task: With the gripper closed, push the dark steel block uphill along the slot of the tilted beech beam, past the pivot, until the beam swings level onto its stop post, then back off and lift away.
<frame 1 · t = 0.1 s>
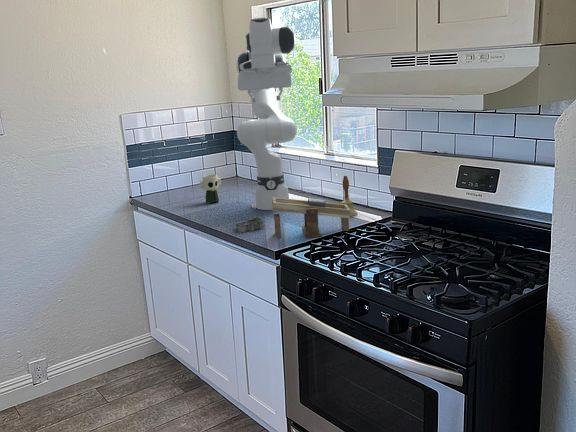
hand: (266, 101, 220), 48 cm above the countertop, tool pointing down, fingers open, 8 cm apart
spiky head figurine: (212, 203, 278), on the countertop
egg carton: (250, 229, 229), on the countertop
beam: (310, 207, 215), point 9 cm above the countertop, hinge at -10.4°, touching steel block
beam stand: (311, 232, 217), on the countertop
steel block: (315, 209, 215), point 9 cm above the countertop, tilted 10°, touching beam
hand bell: (347, 214, 240), on the countertop
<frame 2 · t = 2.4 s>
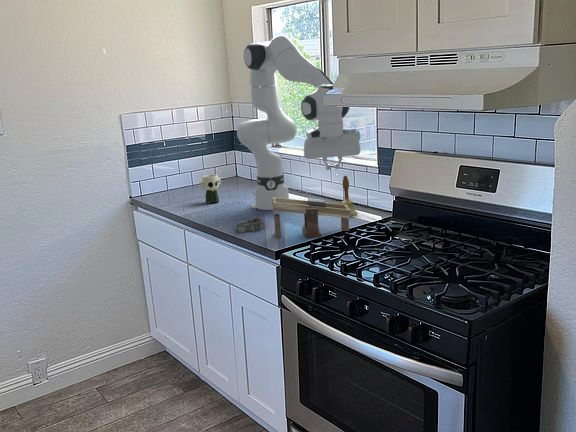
hand: (332, 169, 212), 23 cm above the countertop, tool pointing down, fingers closed
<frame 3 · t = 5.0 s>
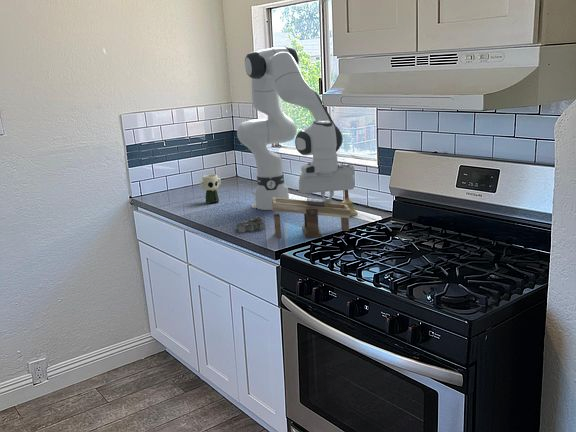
hand: (327, 203, 215), 11 cm above the countertop, tool pointing down, fingers closed
steel block: (314, 209, 215), point 9 cm above the countertop, tilted 10°, touching beam, gripper
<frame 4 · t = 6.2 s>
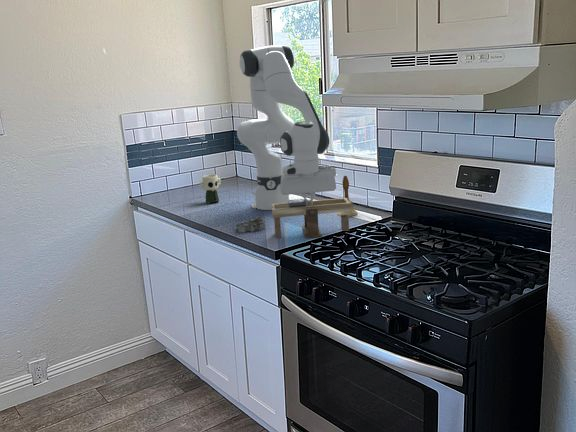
hand: (309, 204, 214), 11 cm above the countertop, tool pointing down, fingers closed
beam: (310, 207, 215), point 9 cm above the countertop, hinge at 0.5°, touching steel block
steel block: (297, 210, 214), point 9 cm above the countertop, touching beam, gripper
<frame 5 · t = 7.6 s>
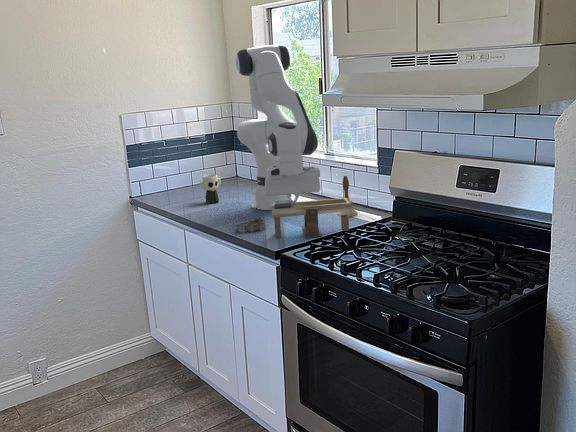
hand: (293, 205, 214), 11 cm above the countertop, tool pointing down, fingers closed
steel block: (283, 211, 214), point 9 cm above the countertop, touching beam, gripper
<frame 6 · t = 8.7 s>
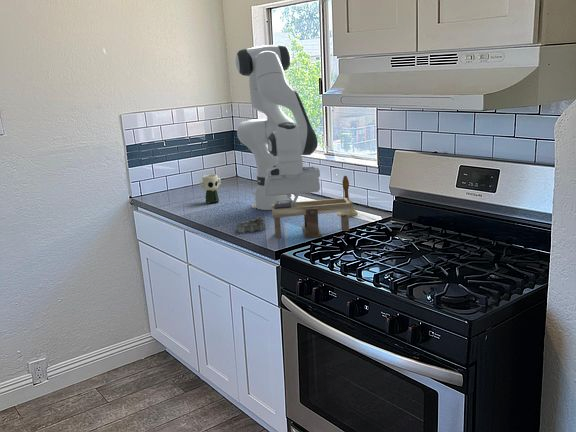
hand: (293, 205, 214), 11 cm above the countertop, tool pointing down, fingers closed
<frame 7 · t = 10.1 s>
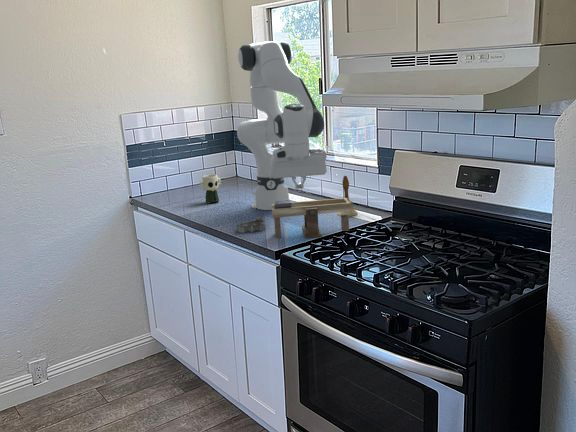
hand: (299, 188, 213), 17 cm above the countertop, tool pointing down, fingers closed
steel block: (283, 211, 214), point 9 cm above the countertop, touching beam
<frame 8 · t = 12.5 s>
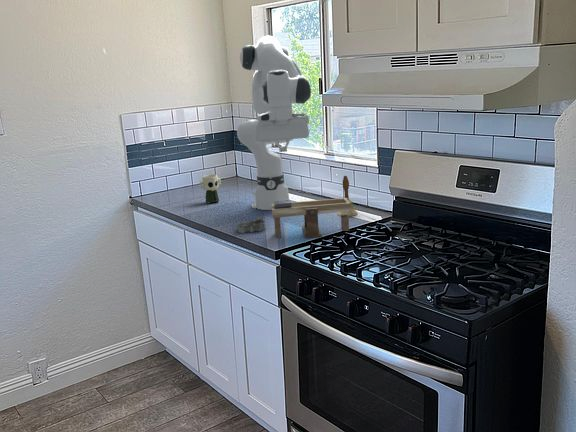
hand: (283, 151, 221), 29 cm above the countertop, tool pointing down, fingers closed
at the end: beam at +0° (first picture: -10°); steel block inside the target area (0.5 cm from its centre), point 8.9 cm above the countertop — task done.
